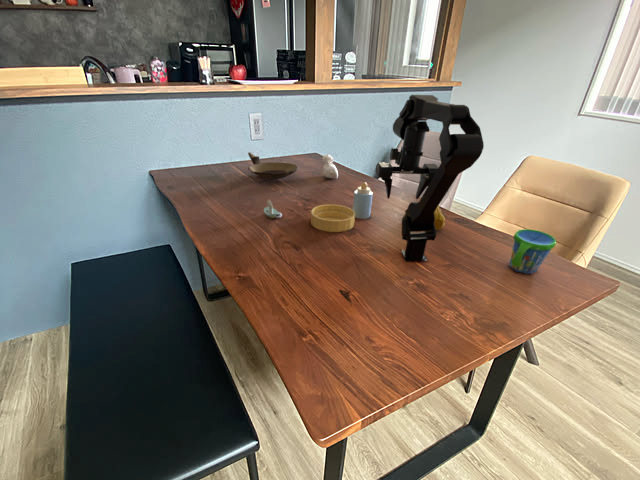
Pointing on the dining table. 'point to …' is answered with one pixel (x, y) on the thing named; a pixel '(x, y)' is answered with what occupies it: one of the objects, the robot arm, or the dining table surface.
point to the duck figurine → (329, 167)
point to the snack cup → (530, 250)
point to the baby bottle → (362, 201)
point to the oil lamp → (271, 168)
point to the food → (439, 219)
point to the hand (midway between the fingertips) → (402, 198)
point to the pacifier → (271, 211)
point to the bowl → (332, 218)
